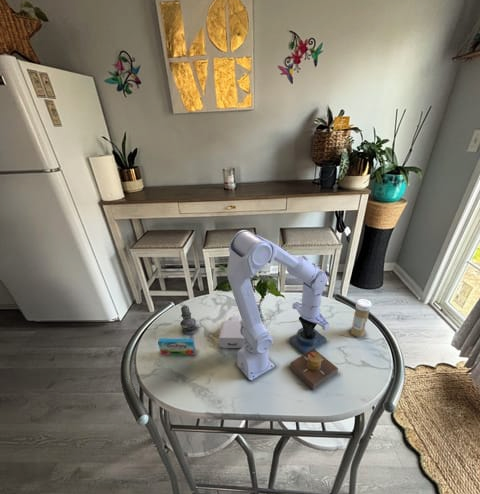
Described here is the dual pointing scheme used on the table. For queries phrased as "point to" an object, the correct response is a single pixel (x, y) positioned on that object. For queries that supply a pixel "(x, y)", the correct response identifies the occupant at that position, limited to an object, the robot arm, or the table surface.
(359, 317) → the sprinkles bottle
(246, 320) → the robot arm
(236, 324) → the charger
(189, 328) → the grey stone statuette
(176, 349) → the blue printed cardboard box
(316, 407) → the table surface
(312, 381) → the brown square block
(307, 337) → the button
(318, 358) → the dial
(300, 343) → the button box
